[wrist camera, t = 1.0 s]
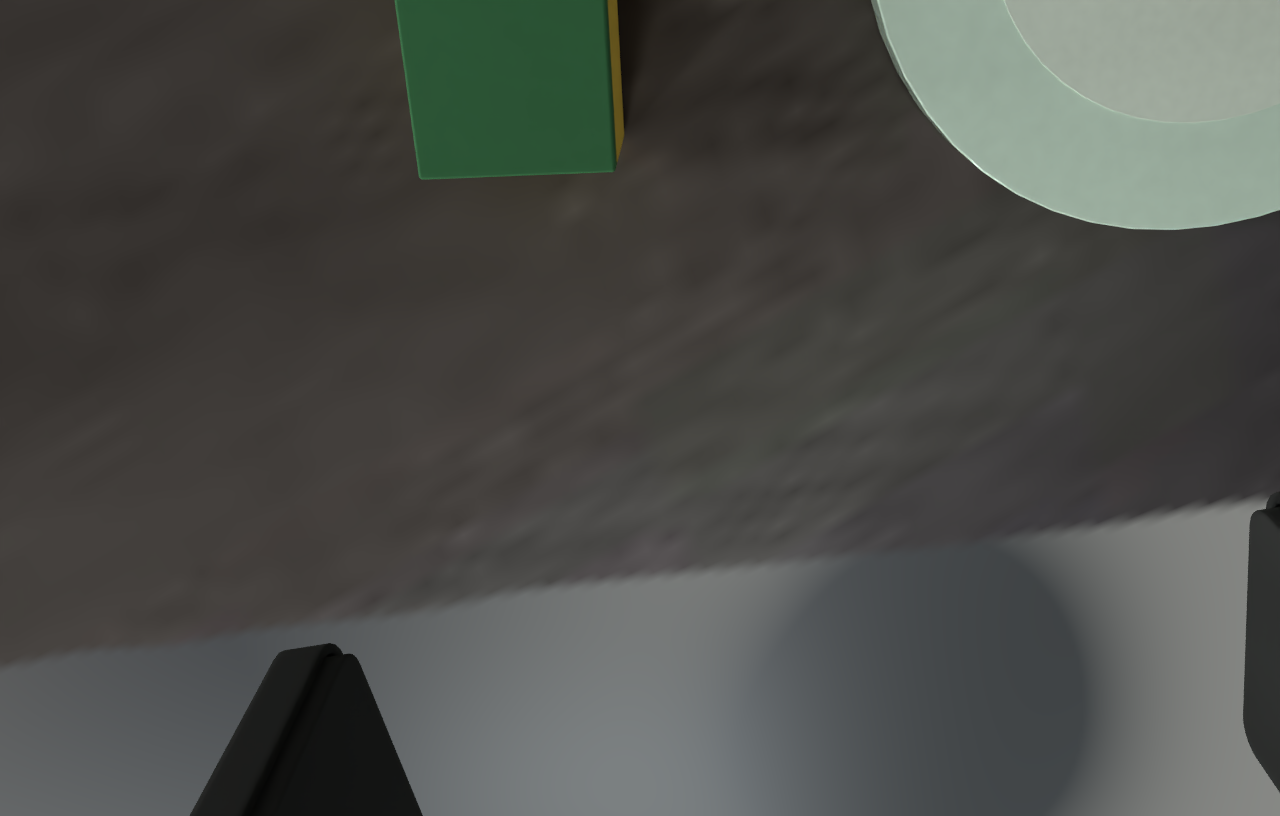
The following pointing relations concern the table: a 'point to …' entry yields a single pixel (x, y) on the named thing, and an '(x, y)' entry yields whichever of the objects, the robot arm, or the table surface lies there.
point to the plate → (1104, 101)
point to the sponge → (512, 86)
